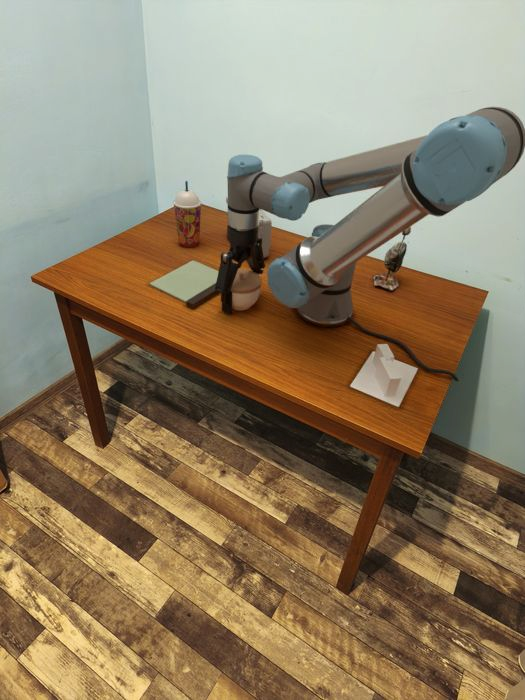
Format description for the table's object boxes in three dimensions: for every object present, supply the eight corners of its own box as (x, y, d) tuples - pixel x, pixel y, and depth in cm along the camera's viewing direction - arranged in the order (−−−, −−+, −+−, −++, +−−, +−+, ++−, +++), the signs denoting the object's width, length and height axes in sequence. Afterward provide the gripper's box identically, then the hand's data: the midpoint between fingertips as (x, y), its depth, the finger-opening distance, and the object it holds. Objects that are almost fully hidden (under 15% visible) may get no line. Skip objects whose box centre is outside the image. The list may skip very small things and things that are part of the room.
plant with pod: (406, 279, 139) (425, 216, 126) (391, 294, 131) (409, 229, 119) (382, 270, 142) (398, 208, 130) (365, 284, 135) (381, 220, 122)
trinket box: (267, 301, 125) (269, 271, 119) (245, 320, 117) (247, 289, 111) (235, 289, 129) (235, 259, 123) (212, 306, 121) (211, 275, 115)
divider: (239, 279, 133) (240, 274, 132) (193, 309, 120) (192, 304, 119) (233, 276, 134) (233, 271, 133) (186, 305, 121) (186, 300, 120)
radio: (270, 259, 143) (275, 196, 130) (245, 263, 140) (248, 199, 128) (247, 231, 158) (249, 172, 145) (224, 233, 155) (225, 174, 142)
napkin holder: (399, 407, 97) (406, 388, 93) (349, 386, 101) (354, 367, 97) (418, 368, 107) (425, 349, 103) (372, 350, 111) (377, 331, 107)
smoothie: (174, 238, 150) (170, 177, 137) (199, 236, 152) (197, 175, 140) (178, 250, 144) (174, 187, 131) (204, 248, 146) (203, 185, 134)
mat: (229, 277, 133) (229, 275, 133) (186, 303, 122) (186, 301, 121) (193, 261, 139) (193, 259, 139) (149, 284, 128) (149, 283, 127)
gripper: (258, 206, 118) (254, 280, 132) (198, 236, 103) (200, 316, 117) (282, 215, 115) (275, 290, 129) (224, 246, 100) (223, 327, 114)
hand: (240, 302), depth 123 cm, fingers closed on trinket box, 11 cm apart
